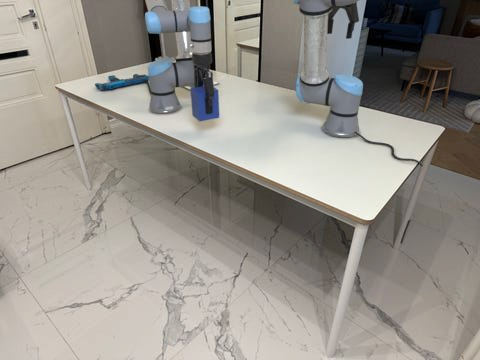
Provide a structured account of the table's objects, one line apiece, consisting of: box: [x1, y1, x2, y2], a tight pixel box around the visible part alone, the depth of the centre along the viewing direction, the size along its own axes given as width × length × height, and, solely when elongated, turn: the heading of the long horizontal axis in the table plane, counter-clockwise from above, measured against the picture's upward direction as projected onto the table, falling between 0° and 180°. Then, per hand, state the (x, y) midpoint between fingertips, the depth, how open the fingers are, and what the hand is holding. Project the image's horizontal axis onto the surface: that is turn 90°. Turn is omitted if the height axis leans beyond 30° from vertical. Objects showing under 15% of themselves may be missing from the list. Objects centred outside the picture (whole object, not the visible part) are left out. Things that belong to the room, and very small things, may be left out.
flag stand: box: [154, 33, 176, 63], centre depth 232 cm, size 13×13×30 cm
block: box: [189, 86, 220, 122], centre depth 139 cm, size 9×8×12 cm
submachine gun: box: [94, 73, 149, 91], centre depth 208 cm, size 34×4×25 cm
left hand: (205, 109), depth 141 cm, fingers closed on block, 8 cm apart
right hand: (338, 36), depth 162 cm, fingers open, 13 cm apart
